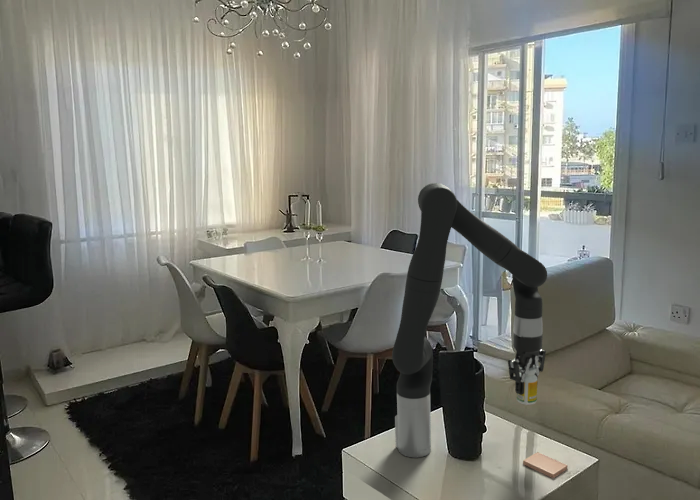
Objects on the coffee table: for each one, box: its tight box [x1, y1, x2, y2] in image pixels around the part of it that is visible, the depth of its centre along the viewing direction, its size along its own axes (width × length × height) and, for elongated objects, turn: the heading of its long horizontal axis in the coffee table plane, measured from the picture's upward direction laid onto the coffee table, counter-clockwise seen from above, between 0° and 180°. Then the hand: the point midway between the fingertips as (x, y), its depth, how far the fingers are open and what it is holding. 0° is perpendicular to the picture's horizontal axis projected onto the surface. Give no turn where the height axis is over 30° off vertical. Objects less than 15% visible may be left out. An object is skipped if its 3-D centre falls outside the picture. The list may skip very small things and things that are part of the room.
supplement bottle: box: [515, 367, 538, 406], centre depth 158 cm, size 5×5×10 cm
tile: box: [522, 451, 568, 479], centre depth 152 cm, size 2×6×9 cm
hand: (526, 390), depth 159 cm, fingers closed on supplement bottle, 5 cm apart
